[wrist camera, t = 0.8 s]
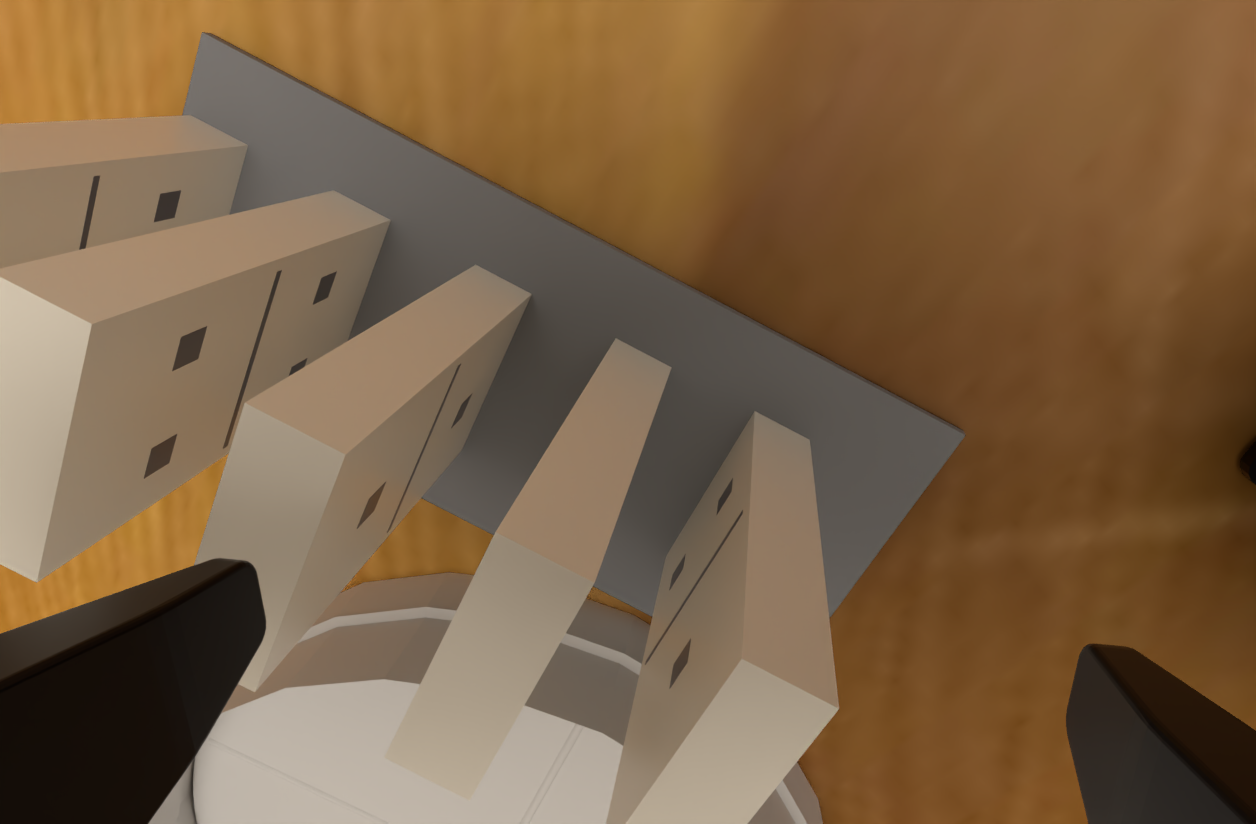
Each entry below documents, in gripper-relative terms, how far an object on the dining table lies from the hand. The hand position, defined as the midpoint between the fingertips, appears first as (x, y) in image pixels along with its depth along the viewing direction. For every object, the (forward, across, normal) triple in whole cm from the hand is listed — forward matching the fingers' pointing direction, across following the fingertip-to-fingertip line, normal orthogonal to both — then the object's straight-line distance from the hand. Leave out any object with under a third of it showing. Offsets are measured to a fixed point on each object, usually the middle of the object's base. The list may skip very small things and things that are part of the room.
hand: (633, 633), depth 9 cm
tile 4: (+12, +10, -1) cm, 16 cm away
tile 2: (+13, +3, +3) cm, 13 cm away
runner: (+13, +5, +2) cm, 14 cm away
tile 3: (+12, +7, +1) cm, 14 cm away
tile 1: (+13, 0, +5) cm, 13 cm away
